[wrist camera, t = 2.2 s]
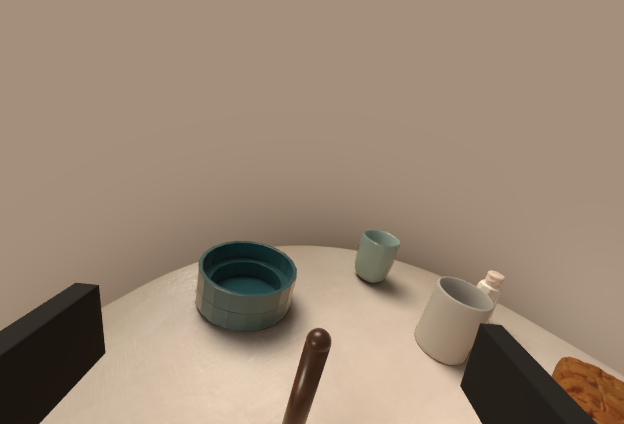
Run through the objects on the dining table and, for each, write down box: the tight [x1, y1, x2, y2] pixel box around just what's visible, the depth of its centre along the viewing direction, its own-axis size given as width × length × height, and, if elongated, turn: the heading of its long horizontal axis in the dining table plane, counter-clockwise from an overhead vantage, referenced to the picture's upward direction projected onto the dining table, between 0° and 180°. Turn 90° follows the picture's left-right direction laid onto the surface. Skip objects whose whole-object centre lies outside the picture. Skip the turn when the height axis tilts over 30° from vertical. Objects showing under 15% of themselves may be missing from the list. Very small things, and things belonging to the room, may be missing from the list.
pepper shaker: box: [476, 271, 505, 324], centre depth 56 cm, size 5×5×11 cm
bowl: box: [196, 241, 297, 331], centre depth 47 cm, size 15×15×7 cm
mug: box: [414, 277, 494, 365], centre depth 48 cm, size 12×8×11 cm
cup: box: [355, 229, 400, 283], centre depth 62 cm, size 8×8×10 cm
